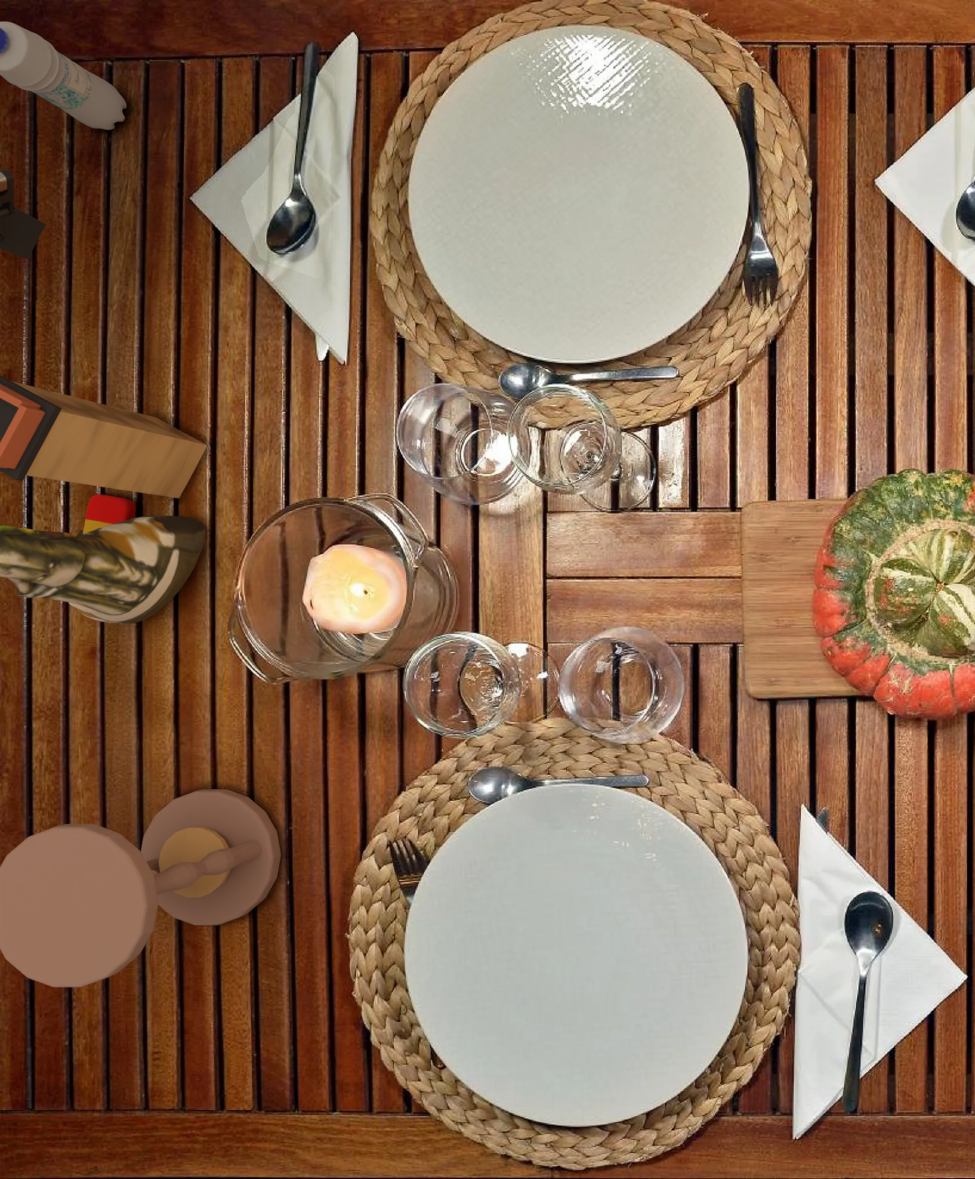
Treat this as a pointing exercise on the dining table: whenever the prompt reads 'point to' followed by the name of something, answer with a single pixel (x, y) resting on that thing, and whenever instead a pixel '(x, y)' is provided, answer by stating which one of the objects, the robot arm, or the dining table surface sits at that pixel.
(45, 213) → the dining table surface
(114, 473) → the stand
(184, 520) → the statue
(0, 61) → the bottle
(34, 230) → the post
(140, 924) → the hourglass
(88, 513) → the popsicle
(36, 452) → the base pad
